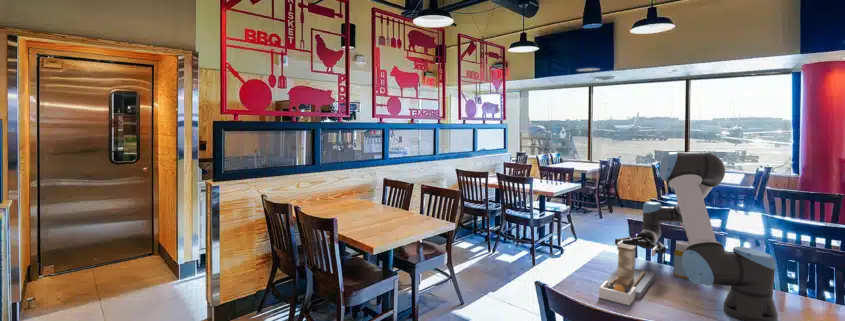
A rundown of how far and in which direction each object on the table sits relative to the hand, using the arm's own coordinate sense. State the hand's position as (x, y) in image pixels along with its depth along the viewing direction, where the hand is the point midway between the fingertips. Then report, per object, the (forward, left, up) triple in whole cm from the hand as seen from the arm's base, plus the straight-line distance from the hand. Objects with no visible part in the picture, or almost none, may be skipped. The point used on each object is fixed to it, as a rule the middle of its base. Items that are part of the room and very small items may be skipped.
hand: (635, 249), depth 179 cm
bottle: (-16, -16, -13) cm, 26 cm away
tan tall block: (0, +14, -10) cm, 17 cm away
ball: (0, +22, -9) cm, 23 cm away
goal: (0, +24, -13) cm, 28 cm away
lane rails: (0, +9, -11) cm, 14 cm away
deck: (0, +7, -13) cm, 15 cm away
